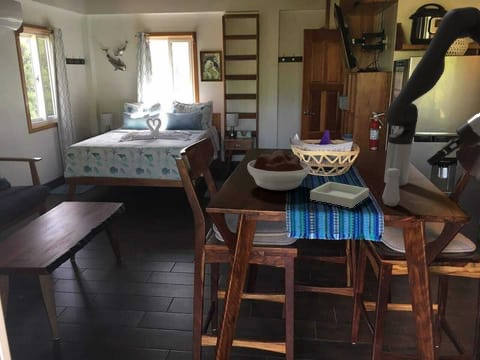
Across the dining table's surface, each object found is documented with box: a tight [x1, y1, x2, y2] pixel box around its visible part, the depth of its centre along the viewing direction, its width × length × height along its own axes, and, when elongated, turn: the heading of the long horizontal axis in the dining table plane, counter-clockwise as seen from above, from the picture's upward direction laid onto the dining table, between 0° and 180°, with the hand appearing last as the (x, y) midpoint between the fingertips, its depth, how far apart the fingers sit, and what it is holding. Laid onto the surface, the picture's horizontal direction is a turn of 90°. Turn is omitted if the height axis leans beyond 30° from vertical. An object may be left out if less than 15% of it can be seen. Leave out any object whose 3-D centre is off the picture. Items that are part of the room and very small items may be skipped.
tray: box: [309, 181, 370, 209], centre depth 149 cm, size 16×16×4 cm
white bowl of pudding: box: [246, 149, 311, 191], centre depth 162 cm, size 25×25×15 cm
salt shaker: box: [381, 168, 401, 207], centre depth 142 cm, size 6×6×13 cm
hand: (432, 160), depth 132 cm, fingers open, 8 cm apart
